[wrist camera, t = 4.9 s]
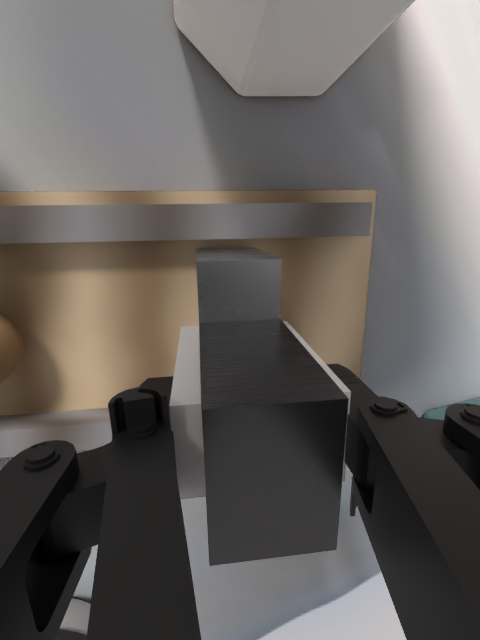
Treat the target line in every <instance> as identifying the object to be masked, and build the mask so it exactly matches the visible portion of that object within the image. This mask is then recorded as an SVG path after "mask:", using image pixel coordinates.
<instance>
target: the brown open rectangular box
mask: <svg viewBox="0 0 480 640" xmlns="http://www.w3.org/2000/svg"><path fill="white" fill-rule="evenodd" d="M376 195H377V190H234V191H34V192H0V312H1V313H3V314H4V315H6V316H7V317H9V318H10V319H11V320H12V321H13V322H14V323H15V324H16V326H17V327H18V329H19V330H20V332H21V335H22V338H23V345H24V350H23V355H22V358H21V361H20V363H19V365H18V367H17V368H16V369H15V371H14V372H13V373H12V374H11V375H10V376H9V377H8V378H7V379H5V380H4V381H2V382H1V383H0V458H6V457H15V456H16V455H17V454H18V453H19V452H21V451H23V450H25V449H27V448H29V447H31V446H32V445H35V444H37V443H38V444H39V443H41V442H44V441H53V440H63V441H68V442H70V443H72V444H73V445H74V447H75V449H76V451H87V450H92V449H95V448H98V447H101V446H104V445H106V444H108V443H110V442H111V441H112V430H111V423H110V416H109V409H108V403H109V401H110V399H111V398H112V397H114V396H115V395H116V394H118V393H120V392H123V391H125V390H127V389H132V388H136V387H139V386H140V385H141V384H142V383H143V382H144V381H145V380H146V379H148V378H154V377H168V376H174V371H175V364H176V357H177V350H178V344H179V337H180V330H181V327H182V326H199V309H198V288H197V268H196V248H236V247H255V248H257V249H260V250H262V251H264V252H266V253H269V254H271V255H273V256H275V257H278V258H280V259H282V262H281V314H280V319H281V320H282V321H287V322H288V323H289V324H290V325H291V326H292V327H293V328H294V330H295V331H296V332H297V333H298V334H299V335H300V336H301V337H302V338H303V339H304V341H305V342H306V343H307V344H308V345H309V346H310V347H311V348H312V349H313V350H314V352H315V353H316V354H317V355H318V356H319V357H320V358H321V359H322V360H323V361H324V363H325V364H340V365H342V366H344V367H346V368H348V369H350V370H351V371H352V372H353V373H354V374H355V375H356V377H358V378H359V379H360V372H361V361H362V350H363V338H364V327H365V316H366V305H367V294H368V283H369V272H370V261H371V250H372V239H373V228H374V217H375V206H376Z"/></svg>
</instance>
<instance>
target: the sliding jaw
mask: <svg viewBox="0 0 480 640" xmlns="http://www.w3.org/2000/svg"><path fill="white" fill-rule="evenodd" d="M281 262H282V259H280V258H278V257H275V256H273V255H271V254H269V253H266V252H264V251H262V250H260V249H257V248H255V247H236V248H196V268H197V288H198V309H199V333H200V369H201V404H202V426H203V446H204V465H205V485H206V505H207V524H208V544H209V563H210V566H212V565H220V564H228V563H235V562H243V561H251V560H259V559H267V558H275V557H282V556H290V555H298V554H306V553H314V552H322V551H329V550H336V547H337V535H338V523H339V511H340V499H341V486H342V474H343V462H344V450H345V438H346V425H347V413H348V401H349V398H348V397H347V396H346V395H345V394H344V392H343V391H342V390H341V389H340V388H339V387H338V385H337V384H336V383H335V382H334V381H333V380H332V378H331V377H330V376H329V375H328V374H327V373H326V371H325V370H324V369H323V368H322V367H321V366H320V365H319V363H318V362H317V361H316V360H315V359H314V358H313V356H312V355H311V354H310V353H309V352H308V351H307V349H306V348H305V347H304V346H303V345H302V344H301V342H300V341H299V340H298V339H297V338H296V337H295V335H294V334H293V333H292V332H291V331H290V330H289V328H288V327H287V326H286V325H285V324H284V323H283V321H282V320H281V319H280V314H281Z"/></svg>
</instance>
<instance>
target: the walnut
mask: <svg viewBox="0 0 480 640" xmlns="http://www.w3.org/2000/svg"><path fill="white" fill-rule="evenodd" d="M23 350H24V345H23V338H22V335H21V332H20V330H19V329H18V327H17V326H16V324H15V323H14V322H13V321H12V320H11V319H10V318H9V317H7V316H6V315H4V314H3V313H1V312H0V383H1V382H2V381H4V380H5V379H7V378H8V377H9V376H10V375H11V374H12V373H13V372H14V371H15V369H16V368H17V367H18V365H19V363H20V361H21V358H22V355H23Z"/></svg>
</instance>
